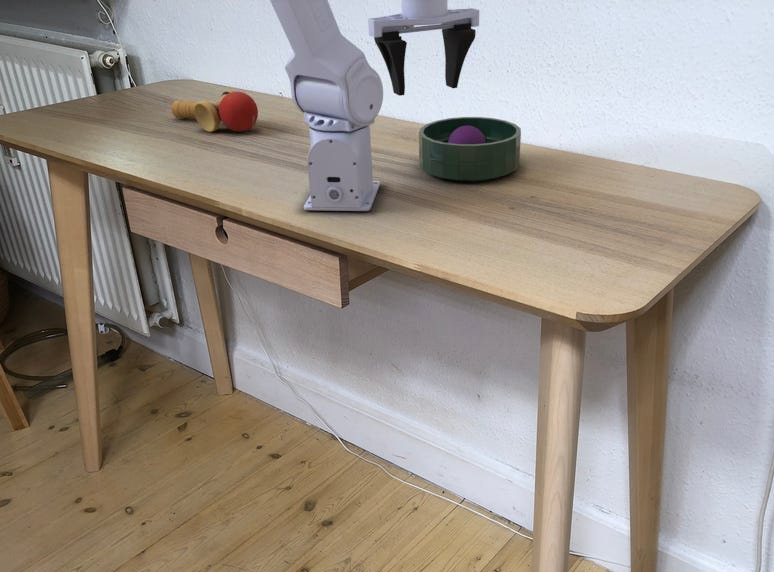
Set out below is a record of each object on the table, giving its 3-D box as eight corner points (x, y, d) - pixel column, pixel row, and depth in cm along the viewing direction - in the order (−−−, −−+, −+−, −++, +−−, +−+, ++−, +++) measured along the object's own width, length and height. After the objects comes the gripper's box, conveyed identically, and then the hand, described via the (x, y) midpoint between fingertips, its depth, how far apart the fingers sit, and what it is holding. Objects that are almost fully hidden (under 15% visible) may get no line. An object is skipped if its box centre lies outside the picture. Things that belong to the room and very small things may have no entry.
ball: (487, 168, 99) (483, 132, 96) (449, 173, 100) (444, 137, 97) (487, 153, 103) (484, 117, 100) (451, 157, 104) (446, 122, 101)
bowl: (519, 185, 95) (521, 145, 93) (415, 184, 97) (414, 145, 94) (518, 152, 106) (520, 116, 104) (424, 152, 108) (423, 116, 105)
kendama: (160, 132, 125) (233, 133, 115) (155, 92, 123) (228, 88, 113) (198, 130, 131) (270, 130, 120) (194, 91, 129) (267, 88, 118)
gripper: (462, -32, 98) (460, 77, 105) (357, -24, 93) (363, 90, 100) (488, -28, 92) (485, 88, 100) (378, -18, 88) (383, 102, 95)
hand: (425, 90), depth 100 cm, fingers open, 7 cm apart
